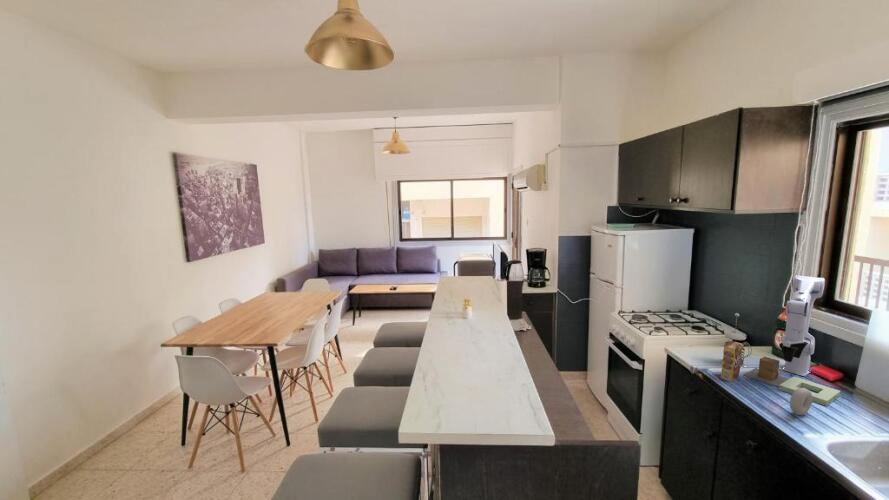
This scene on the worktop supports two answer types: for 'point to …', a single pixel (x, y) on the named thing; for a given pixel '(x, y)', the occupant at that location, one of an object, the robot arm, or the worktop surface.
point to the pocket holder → (822, 397)
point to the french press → (735, 337)
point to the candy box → (731, 361)
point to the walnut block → (768, 368)
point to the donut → (801, 401)
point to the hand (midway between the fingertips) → (791, 359)
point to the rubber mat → (754, 375)
